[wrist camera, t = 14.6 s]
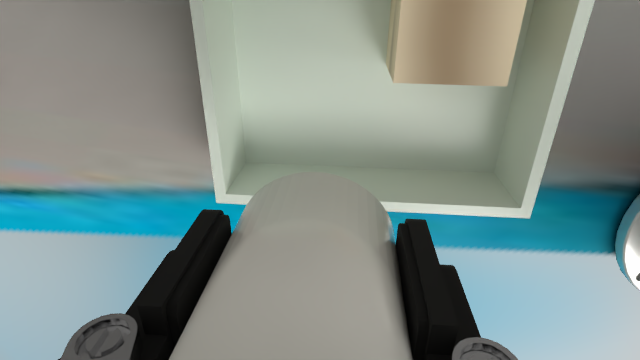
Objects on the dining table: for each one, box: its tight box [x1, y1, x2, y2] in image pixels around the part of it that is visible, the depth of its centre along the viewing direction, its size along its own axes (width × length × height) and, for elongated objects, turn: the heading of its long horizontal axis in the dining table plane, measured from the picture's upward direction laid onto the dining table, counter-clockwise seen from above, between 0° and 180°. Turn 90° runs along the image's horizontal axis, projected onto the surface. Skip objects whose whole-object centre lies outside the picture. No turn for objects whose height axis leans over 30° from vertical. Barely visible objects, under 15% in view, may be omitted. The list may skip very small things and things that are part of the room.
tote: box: [189, 0, 595, 218], centre depth 20 cm, size 17×13×5 cm
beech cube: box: [386, 0, 527, 86], centre depth 18 cm, size 5×5×5 cm
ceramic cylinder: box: [169, 172, 413, 360], centre depth 9 cm, size 5×5×7 cm
